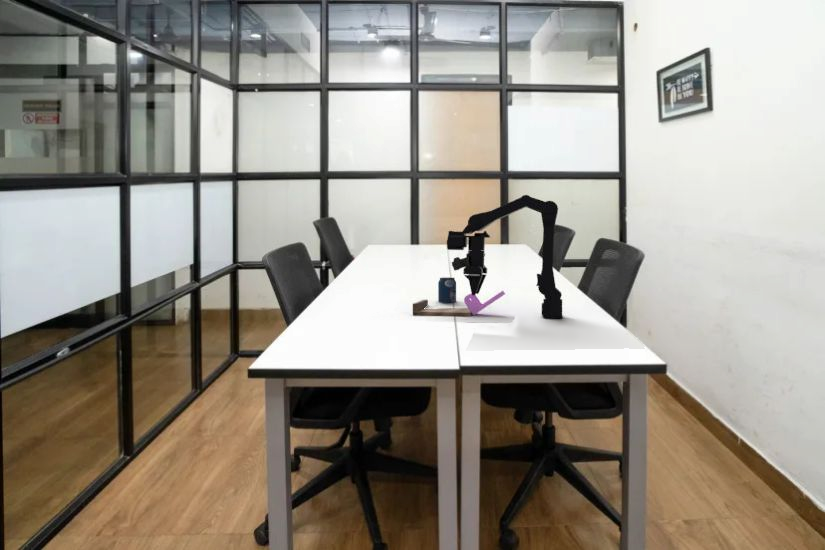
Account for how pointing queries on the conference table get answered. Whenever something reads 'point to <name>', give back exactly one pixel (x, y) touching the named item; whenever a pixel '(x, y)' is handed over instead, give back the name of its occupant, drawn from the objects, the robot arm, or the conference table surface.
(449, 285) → the soda can
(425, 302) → the board
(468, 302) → the bracket
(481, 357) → the conference table surface
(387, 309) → the conference table surface
